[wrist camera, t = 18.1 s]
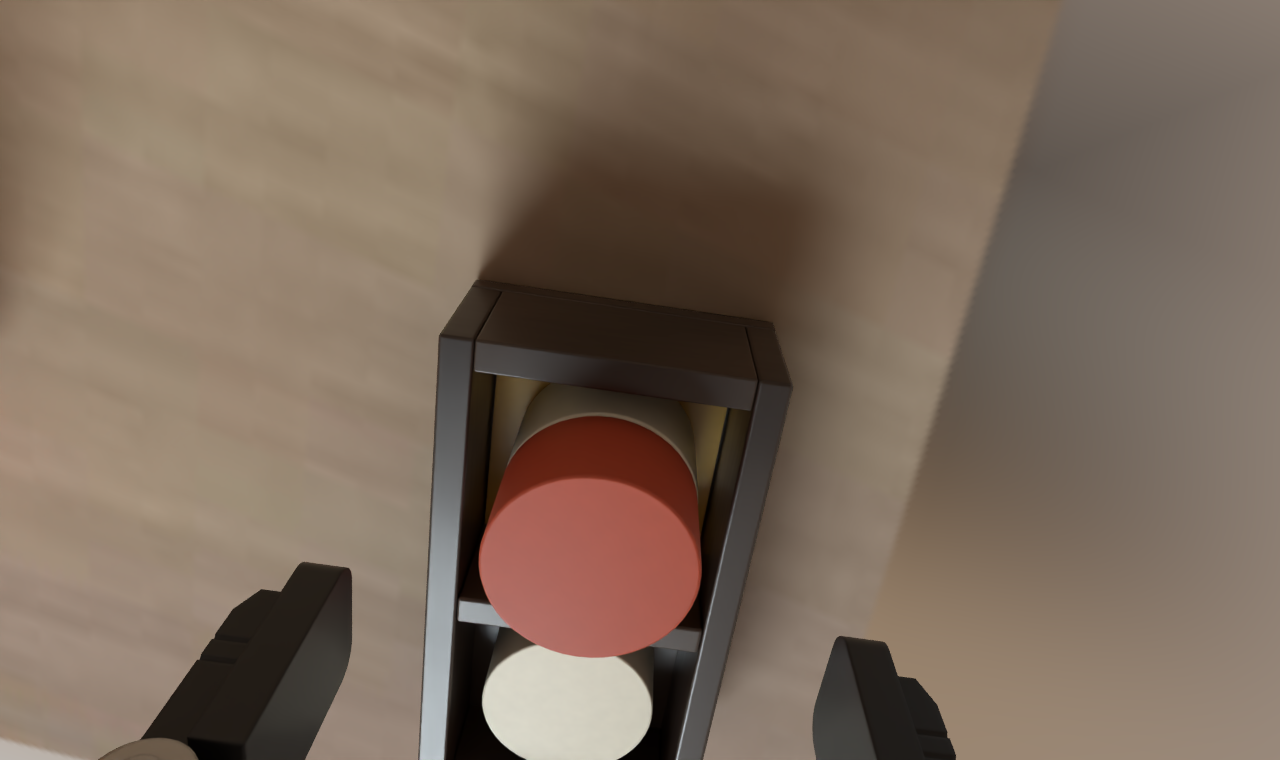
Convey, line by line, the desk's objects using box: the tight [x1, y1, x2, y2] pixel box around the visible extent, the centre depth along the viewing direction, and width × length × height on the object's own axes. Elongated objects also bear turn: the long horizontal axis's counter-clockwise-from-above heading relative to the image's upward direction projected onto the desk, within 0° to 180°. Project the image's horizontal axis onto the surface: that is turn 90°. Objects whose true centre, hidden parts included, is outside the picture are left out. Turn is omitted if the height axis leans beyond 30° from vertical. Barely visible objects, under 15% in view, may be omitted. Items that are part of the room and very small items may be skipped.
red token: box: [479, 416, 702, 658], centre depth 17 cm, size 4×4×2 cm
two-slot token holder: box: [418, 280, 793, 760], centre depth 21 cm, size 7×13×4 cm, turn 172°
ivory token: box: [507, 383, 698, 499], centre depth 19 cm, size 4×4×2 cm
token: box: [482, 627, 654, 760], centre depth 22 cm, size 4×4×2 cm
